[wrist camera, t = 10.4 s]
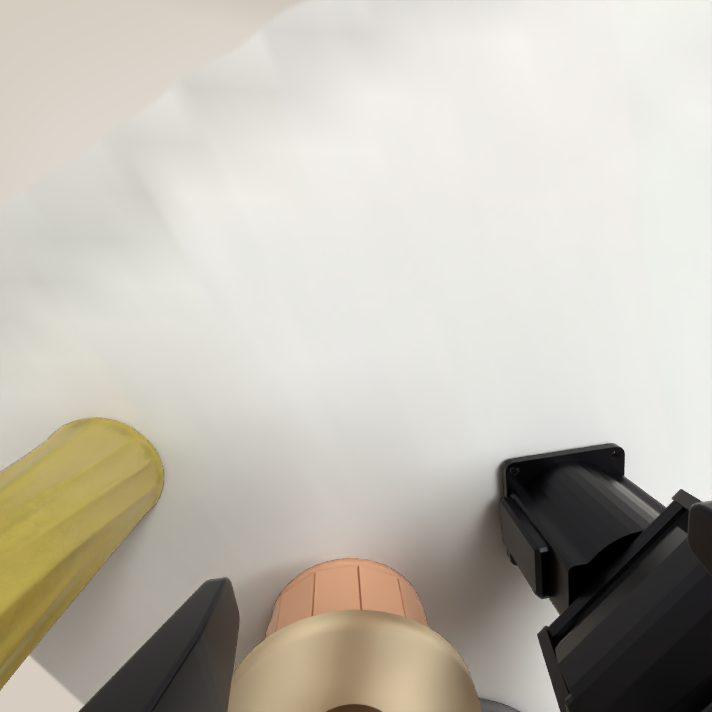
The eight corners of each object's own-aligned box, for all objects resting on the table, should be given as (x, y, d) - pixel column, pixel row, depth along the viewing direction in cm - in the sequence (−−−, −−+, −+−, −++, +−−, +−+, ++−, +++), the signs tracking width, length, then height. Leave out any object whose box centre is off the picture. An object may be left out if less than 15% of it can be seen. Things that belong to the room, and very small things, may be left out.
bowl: (414, 545, 23) (435, 622, 18) (429, 668, 25) (451, 765, 20) (258, 570, 23) (237, 654, 18) (286, 691, 25) (274, 795, 20)
